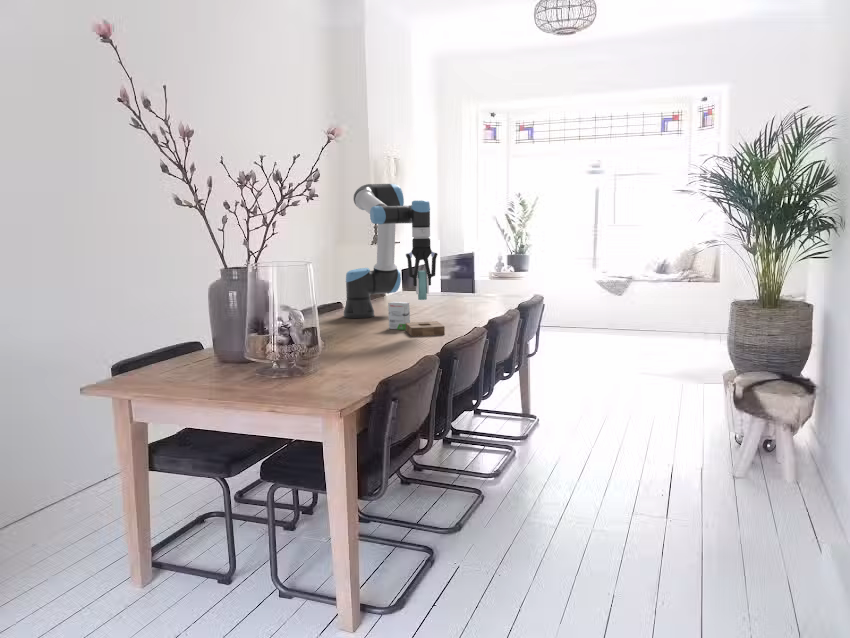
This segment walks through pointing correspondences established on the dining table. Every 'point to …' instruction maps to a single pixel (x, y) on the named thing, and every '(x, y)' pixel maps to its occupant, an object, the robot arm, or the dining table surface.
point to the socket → (425, 328)
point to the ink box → (398, 315)
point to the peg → (422, 285)
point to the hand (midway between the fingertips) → (422, 293)
